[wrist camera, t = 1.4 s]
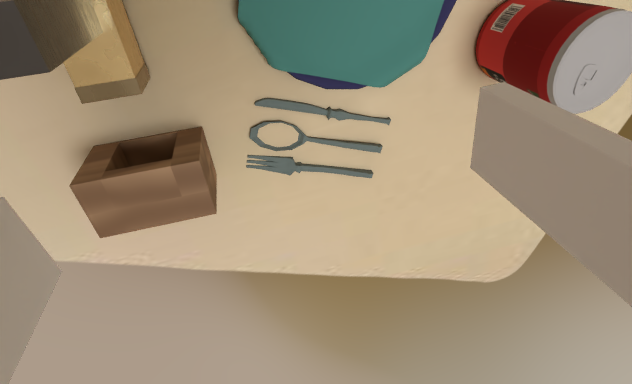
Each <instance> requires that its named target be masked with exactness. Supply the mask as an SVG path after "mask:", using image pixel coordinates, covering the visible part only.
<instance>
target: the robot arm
mask: <svg viewBox="0 0 632 384" xmlns="http://www.w3.org/2000/svg"><path fill="white" fill-rule="evenodd" d="M470 168H471V169H472V170H474V171H475V172H476V173H477V174H478V175H479V176H480V177H482V178H483V179H484V180H485V181H486V182H487V183H489V184H490V185H491V186H492V187H493V188H494V189H496V190H497V191H498V192H499V193H500V194H501V195H503V196H504V197H505V198H506V199H507V200H508V201H510V202H511V203H512V204H513V205H514V206H515V207H516V208H518V209H519V210H520V211H521V212H522V213H523V214H525V215H526V216H527V217H528V218H529V219H530V220H532V221H533V222H534V223H535V224H536V225H537V226H539V227H540V228H541V229H542V230H543V231H544V232H545V233H547V234H548V235H549V236H550V237H551V238H552V239H554V240H555V241H556V242H557V243H558V244H559V245H561V246H562V247H563V248H564V249H565V250H567V251H568V252H569V253H570V254H571V255H572V256H573V257H574V258H576V259H577V260H578V261H579V262H580V263H581V264H583V265H584V266H585V267H586V268H587V269H588V270H590V271H591V272H592V273H593V274H594V275H595V276H597V277H598V278H599V279H600V280H601V281H602V282H603V283H605V284H606V285H607V286H608V287H609V288H610V289H612V290H613V291H614V292H615V293H616V294H617V295H619V296H620V297H621V298H622V299H623V300H624V301H626V302H627V303H628V304H629V305H630V306H631V307H632V141H631V140H629V139H627V138H624V137H622V136H620V135H618V134H616V133H614V132H611V131H609V130H607V129H605V128H603V127H601V126H598V125H596V124H594V123H592V122H590V121H588V120H585V119H583V118H581V117H579V116H577V115H575V114H572V113H570V112H568V111H566V110H564V109H562V108H560V107H557V106H555V105H553V104H551V103H549V102H547V101H544V100H542V99H540V98H538V97H536V96H534V95H531V94H529V93H527V92H525V91H523V90H521V89H518V88H516V87H514V86H512V85H510V84H508V83H505V82H502V83H498V84H493V85H489V86H485V87H480V93H479V101H478V109H477V118H476V126H475V134H474V142H473V150H472V158H471V166H470ZM61 273H62V270H61V269H60V268H59V266H58V265H57V264H56V263H55V261H54V260H53V259H52V258H51V256H50V255H49V254H48V253H47V251H46V250H45V249H44V247H43V246H42V245H41V244H40V242H39V241H38V240H37V239H36V237H35V236H34V235H33V234H32V232H31V231H30V230H29V229H28V227H27V226H26V225H25V223H24V222H23V221H22V220H21V218H20V217H19V216H18V215H17V213H16V212H15V211H14V210H13V208H12V207H11V206H10V205H9V203H8V202H7V201H6V199H5V198H4V197H1V198H0V384H9V381H10V380H11V377H12V375H13V373H14V371H15V369H16V367H17V365H18V363H19V361H20V359H21V357H22V354H23V352H24V350H25V348H26V346H27V344H28V342H29V340H30V338H31V336H32V334H33V331H34V329H35V327H36V325H37V323H38V321H39V319H40V317H41V315H42V313H43V311H44V308H45V306H46V304H47V302H48V300H49V298H50V296H51V294H52V292H53V290H54V288H55V285H56V283H57V281H58V279H59V277H60V275H61Z"/></svg>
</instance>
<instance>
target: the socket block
mask: <svg viewBox="0 0 632 384" xmlns="http://www.w3.org/2000/svg"><path fill="white" fill-rule="evenodd" d="M69 186H70V188H71V189H72V191H73V193H74V194H75V196H76V198H77V200H78V201H79V203H80V205H81V206H82V208H83V210H84V212H85V213H86V215H87V217H88V218H89V220H90V222H91V223H92V225H93V227H94V229H95V230H96V232H97V234H98V235H99V237H100V238H103V237H108V236H113V235H118V234H122V233H127V232H132V231H137V230H141V229H146V228H151V227H155V226H160V225H165V224H170V223H174V222H179V221H184V220H188V219H193V218H198V217H203V216H207V215H212V214H216V171H215V168H214V165H213V161H212V158H211V155H210V151H209V148H208V145H207V141H206V138H205V135H204V131H203V128H202V127H197V128H191V129H186V130H180V131H175V132H169V133H164V134H158V135H153V136H147V137H142V138H136V139H131V140H125V141H120V142H114V143H108V144H103V145H97V146H94V147H93V148H92V150H91V152H90V153H89V155H88V156H87V158H86V160H85V161H84V163H83V165H82V166H81V168H80V169H79V171H78V173H77V174H76V176H75V177H74V179H73V181H72V182H71V184H70V185H69Z"/></svg>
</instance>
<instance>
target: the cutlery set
mask: <svg viewBox="0 0 632 384" xmlns="http://www.w3.org/2000/svg"><path fill="white" fill-rule="evenodd" d="M238 1H239V7H238V19H239V22H240V24H241V25H242V26H243V27H244V28H245V29H246V31H247V33H248V35H249V36H250V37H251V38H252V39H253V40H254V43H255V44H256V45H257V46H258V48H259V49H260V50H261V53H262V54H263V55H264V56H265V58H266V59H267V62H268V64H269V65H271V66H272V67H273V68H275V69H278V70H281V71H287V72H288V73H289V74H291V75H292V76H293V77H295V78H296V79H298V80H301V81H304V82H307V83H310V84H313V85H316V86H319V87H322V88H325V89H360V88H363V87H366V86H372V87H385V86H387V85H388V84H390V83H391V82H393V81H394V80H396V79H397V78H399V77H400V76H402V75H403V74H405V73H406V72H408V71H409V70H411V69H412V68H414V67H415V66H417V65H418V64H420V63H421V62H422V60H423V59H424V58H425V56H426V54H427V52H428V49H429V46H430V44H431V42H432V41H433V40H434V39H435V38H436V37H437V36H438V34H439V33H440V31H441V29H442V28H443V26H444V24H445V22H446V20H447V18H448V16H449V14H450V12H451V10H452V8H453V6H454V4H455V3H456V1H457V0H238ZM255 105H256V106H263V107H271V108H278V109H285V110H292V111H299V112H306V113H313V114H320V115H326V116H327V118H328V120H329V119H330V118H336V119H337V120H345V119H354V120H367V121H374V122H380V123H386V124H388V125H389V124H390V121H391V119H390V118H389V117H388V118H387V119H385V118H375V117H368V116H363V115H357V114H350V113H348V112H346V111H344V110H341V109H337V110H333V109H331V108H330V107H328V108H327V109H324V108H321V107H318V106H314V105H311V104H306V103H301V102H295V101H288V100H281V99H273V98H264V99H261V100H258V101H256V102H255ZM269 123H284V124H287V125H290V126H293V127H294V128H295V130H296V131H297V132H298V133H299V137H298V141H297V142H295V143H294V144H292V145H290V146H287V147H278V148H277V147H274V146H270V145H267V144H265V143H263V142H262V141H261V140H260V139H259V138H258V137H257V134H258V129H259V128H261V127H263V126H265V125H267V124H269ZM250 139H252V140H253V141H254V142H255V143H257V144H258V145H259V146H260V147H264V148H267V149H271V150H274V151H282V150H292V149H294V148H296V147H298V146H300V145H302V144H304V143H305V142H306V141H310V142H315V143H321V144H327V145H332V146H338V147H343V148H350V149H357V150H363V151H370V152H378V153H380V152H381V149H382V145H381V144H371V143H358V142H348V141H338V140H331V139H322V138H314V137H307V136H306V135H305V134H304V133H303V132H302V131H301V130H300V129H299V128H298V127H297V126H294V125H291V124H288V123H285V122H282V121H280V122H264V123H262V124H259V125H257V126H255V127H253V128H251V132H250ZM248 158H256V159H263V160H268V161H255V160H247V163H256V164H262V165H267V166H256V165H246V167H247V168H256V169H263V170H268V171H273V172H278V173H283V174H287V175H291V174H292V173H293V172H294V171H296V172H298V173H300V172H301V171H310V172H326V173H335V174H343V175H349V176H356V177H366V178H372V175H373V172H372V171H371V170H362V169H352V168H344V167H334V166H324V165H309V164H301V162H297V163H295V162H294V160H293V157H279V156H256V155H248Z"/></svg>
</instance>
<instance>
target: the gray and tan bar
mask: <svg viewBox="0 0 632 384" xmlns="http://www.w3.org/2000/svg"><path fill="white" fill-rule="evenodd" d="M61 63H64V65H65V67H66V69H67V71H68V73H69V75H70V77H71V79H72V81H73V84H74V86H75V90H76V92H77V94H78V96H79V98H80V100H81V102H82V104H83V103H89V102H96V101H102V100H108V99H114V98H120V97H126V96H132V95H138V94H142V93H143V91H144V89H145V87H146V85H147V83H148V81H149V79H150V75H149V73H148V70H147V67H146V64H145V63H144V61H143V58H142V55H141V53H140V50H139V47H138V44H137V42H136V39H135V36H134V33H133V30H132V28H131V25H130V22H129V19H128V17H127V14H126V11H125V8H124V6H123V3H122V0H0V80H2V79H8V78H15V77H21V76H28V75H34V74H41V73H47V72H51V71H52V70H53V69H55V68H56V67H57V66H59V65H60V64H61Z"/></svg>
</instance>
